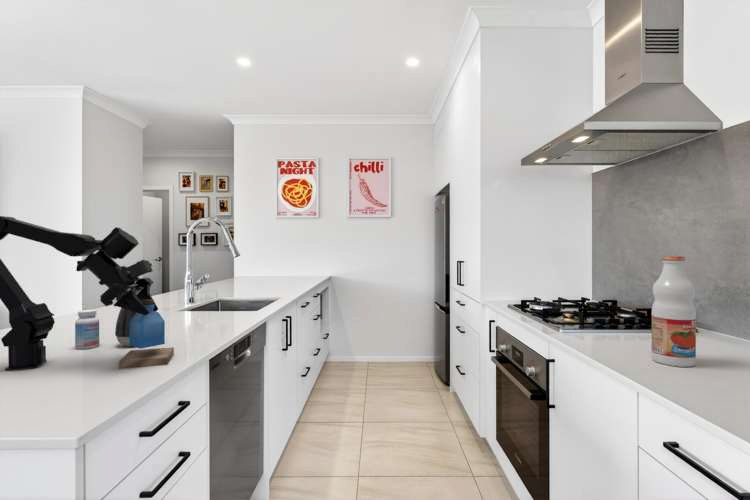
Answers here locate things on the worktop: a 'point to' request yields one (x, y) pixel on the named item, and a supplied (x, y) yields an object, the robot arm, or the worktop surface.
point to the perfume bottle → (147, 328)
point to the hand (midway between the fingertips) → (152, 312)
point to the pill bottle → (87, 330)
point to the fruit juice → (674, 316)
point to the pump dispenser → (123, 326)
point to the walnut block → (146, 358)
